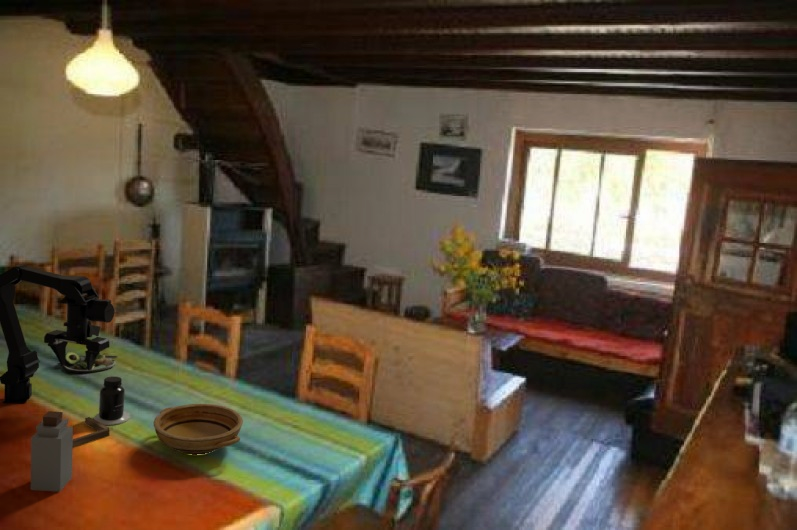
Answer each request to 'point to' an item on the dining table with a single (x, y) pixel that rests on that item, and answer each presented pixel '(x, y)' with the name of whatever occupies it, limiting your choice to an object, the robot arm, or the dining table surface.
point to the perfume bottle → (51, 453)
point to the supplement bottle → (111, 399)
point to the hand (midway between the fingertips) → (76, 367)
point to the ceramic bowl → (198, 427)
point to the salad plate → (79, 363)
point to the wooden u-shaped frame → (101, 433)
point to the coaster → (123, 419)
